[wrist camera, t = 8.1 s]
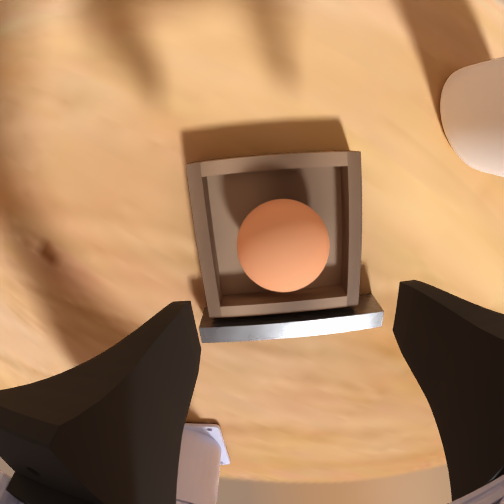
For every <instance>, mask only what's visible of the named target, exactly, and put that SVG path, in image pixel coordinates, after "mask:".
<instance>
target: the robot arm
mask: <svg viewBox="0 0 504 504" xmlns="http://www.w3.org/2000/svg"><path fill="white" fill-rule="evenodd" d="M393 332H394V335H395V338H396V340H397V343H398V345H399V348H400V350H401V353H402V355H403V356H404V358H405V360H406V362H407V364H408V365H409V367H410V369H411V371H412V373H413V374H414V376H415V378H416V380H417V381H418V383H419V385H420V387H421V389H422V391H423V392H424V394H425V396H426V398H427V400H428V402H429V405H430V407H431V410H432V412H433V415H434V418H435V421H436V424H437V427H438V430H439V433H440V437H441V440H442V444H443V447H444V452H445V456H446V461H447V466H448V471H449V478H450V485H451V493H452V494H451V495H452V502H450V503H448V504H504V314H501V313H498V312H495V311H492V310H489V309H486V308H484V307H481V306H478V305H476V304H473V303H471V302H468V301H466V300H464V299H461V298H459V297H457V296H454V295H452V294H450V293H448V292H445V291H443V290H441V289H438V288H436V287H434V286H431V285H429V284H426V283H423V282H420V281H417V280H410V281H403V282H400V285H399V293H398V300H397V307H396V314H395V320H394V326H393ZM200 355H201V346H200V342H199V338H198V333H197V329H196V324H195V320H194V315H193V311H192V306H191V301H177V302H172V303H170V304H169V305H167V306H166V307H165V308H163V309H162V310H161V311H160V312H158V313H157V314H156V315H154V316H153V317H152V318H151V319H149V320H148V321H147V322H146V323H144V324H143V325H142V326H140V327H139V328H138V329H137V330H135V331H134V332H132V333H131V334H130V335H128V336H127V337H125V338H124V339H123V340H121V341H120V342H118V343H117V344H116V345H114V346H113V347H111V348H109V349H108V350H106V351H105V352H103V353H101V354H99V355H98V356H96V357H94V358H92V359H90V360H89V361H87V362H85V363H82V364H80V365H78V366H76V367H74V368H72V369H69V370H67V371H65V372H63V373H60V374H58V375H55V376H52V377H50V378H47V379H44V380H41V381H38V382H34V383H31V384H27V385H23V386H18V387H14V388H9V389H4V390H0V457H2V459H3V460H4V461H5V462H6V463H7V464H8V465H9V466H10V467H11V468H12V469H13V470H14V471H15V473H14V475H13V477H12V478H11V477H9V476H8V475H7V474H5V473H4V472H2V471H1V470H0V504H216V503H217V493H218V483H219V473H220V464H221V465H227V464H230V458H229V455H228V452H227V449H226V446H225V442H224V439H223V436H222V432H221V429H220V426H219V425H217V424H192V423H185V421H186V417H187V413H188V410H189V406H190V402H191V399H192V395H193V391H194V387H195V384H196V380H197V376H198V371H199V364H200Z"/></svg>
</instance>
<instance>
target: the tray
mask: <svg viewBox="0 0 504 504" xmlns="http://www.w3.org/2000/svg"><path fill="white" fill-rule="evenodd" d="M186 170H187V178H188V186H189V193H190V201H191V208H192V215H193V222H194V229H195V235H196V242H197V248H198V255H199V261H200V267H201V273H202V279H203V284H204V290H205V296H206V301H207V307H208V312H209V318H223V317H240V316H255V315H269V314H281V313H293V312H304V311H314V310H324V309H333V308H342V307H350V306H358V301H359V287H360V270H361V246H362V175H361V152H359V151H314V152H294V153H278V154H264V155H253V156H242V157H232V158H223V159H214V160H206V161H198V162H192V163H189V164H186ZM275 199H292V200H296V201H299V202H301V203H303V204H305V205H307V206H309V207H310V208H311V209H313V210H314V211H315V212H316V213H317V214H318V215H319V216H320V218H321V219H322V221H323V222H324V224H325V226H326V229H327V231H328V235H329V242H330V251H329V256H328V259H327V262H326V265H325V267H324V269H323V270H322V272H321V273H320V275H319V276H318V277H317V278H316V279H315V280H314V281H313V282H311V283H310V284H309V285H307V286H305V287H303V288H301V289H299V290H295V291H291V292H276V291H271V290H268V289H265V288H263V287H261V286H259V285H258V284H256V283H255V282H254V281H253V280H251V279H250V278H249V277H248V275H247V274H246V273H245V271H244V270H243V268H242V266H241V264H240V262H239V259H238V254H237V236H238V232H239V229H240V227H241V225H242V223H243V221H244V219H245V218H246V217H247V215H248V214H249V213H250V212H251V211H252V210H254V209H255V208H256V207H258V206H259V205H261V204H263V203H265V202H267V201H271V200H275Z"/></svg>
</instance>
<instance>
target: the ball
mask: <svg viewBox="0 0 504 504" xmlns="http://www.w3.org/2000/svg"><path fill="white" fill-rule="evenodd" d="M329 251H330V242H329V235H328V231H327V229H326V226H325V224H324V222H323V221H322V219H321V218H320V216H319V215H318V214H317V213H316V212H315V211H314V210H313V209H311V208H310V207H309V206H307V205H305V204H303V203H301V202H299V201H296V200H292V199H275V200H271V201H267V202H265V203H263V204H261V205H259V206H258V207H256V208H255V209H254V210H252V211H251V212H250V213H249V214H248V215H247V217H246V218H245V219H244V221H243V223H242V225H241V227H240V229H239V232H238V236H237V254H238V259H239V262H240V264H241V266H242V268H243V270H244V271H245V273H246V274H247V275H248V277H249V278H250V279H251V280H253V281H254V282H255V283H256V284H258V285H259V286H261V287H263V288H265V289H268V290H271V291H276V292H291V291H295V290H299V289H301V288H303V287H305V286H307V285H309V284H310V283H311V282H313V281H314V280H315V279H316V278H317V277H318V276H319V275H320V273H321V272H322V270H323V269H324V267H325V265H326V262H327V259H328V256H329Z"/></svg>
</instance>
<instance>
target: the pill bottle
mask: <svg viewBox="0 0 504 504" xmlns="http://www.w3.org/2000/svg"><path fill="white" fill-rule="evenodd" d="M440 114H441V120H442V125H443V129H444V132H445V135H446V137H447V139H448V141H449V143H450V145H451V147H452V149H453V150H454V152H455V153H456V154H457V155H458V157H459V158H460V159H461V160H462V161H463V162H464V163H466V164H467V165H469V166H470V167H472V168H474V169H476V170H479V171H481V172H485V173H490V174H494V175H498V176H502V177H504V57H501V58H497V59H493V60H489V61H485V62H481V63H477V64H473V65H469V66H466V67H463V68H461V69H459V70H457V71H455V72H454V73H452V74H451V75H450V76H449V78H448V79H447V80H446V82H445V84H444V87H443V89H442V93H441V99H440Z"/></svg>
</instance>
